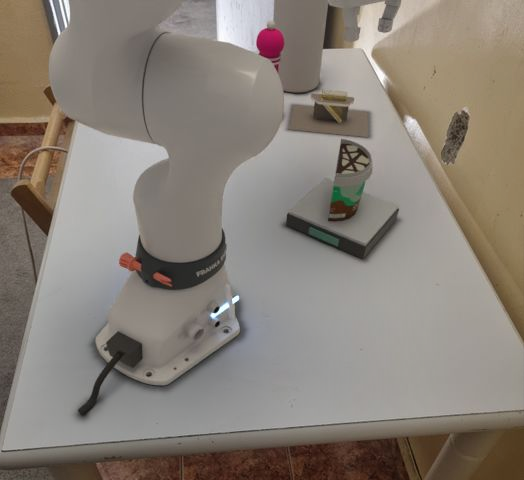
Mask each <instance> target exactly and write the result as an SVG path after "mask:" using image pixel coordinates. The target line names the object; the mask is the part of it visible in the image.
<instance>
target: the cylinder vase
mask: <svg viewBox="0 0 524 480" xmlns="http://www.w3.org/2000/svg"><path fill="white" fill-rule="evenodd" d="M328 8H329V3H328V0H273V19H272V20H273V21H274V22H275V29H278V30H279V31H280V32H281V33H282V34H283V37H284V48H283V50H282V51H281V52H280V54H281V62H280V63H279V67H278V75H279V77H280V80H281V84H282V88H283V92H287V93H292V94H293V93H294V94H295V93H296V94H297V93H298V94H299V93H306V92H310V91H314V89H316V88H317V87H318V86H319V84H320V77H321V68H322V59H323V51H324V44H325V43H324V42H325V34H326V33H325V32H326V25H327V16H328Z"/></svg>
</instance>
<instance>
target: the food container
mask: <svg viewBox="0 0 524 480" xmlns="http://www.w3.org/2000/svg"><path fill="white" fill-rule="evenodd" d="M373 170H374V169H373V159H372V155H371V153H370V151H369V150H368V149H367V148H366V147H364V146H363V145H362V144H360V143H358V142H355V141H353V140H350V139H346V138H340V144H339V150H338V156H337V162H336V168H335V174H334V180H333V181H334V186H333V192H332V198H331V204H330V211H329V217H328V221H334V222H335V221H344V220H347V219H350V218H351V217H353V216H354V215H355V214H356V212H357V209H358V206H359V202H360V199H361V196H362V192H364V188H365V185H366V182H367V181H368V180H369V179H370V178H371V176H372V175H373V172H374V171H373Z"/></svg>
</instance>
